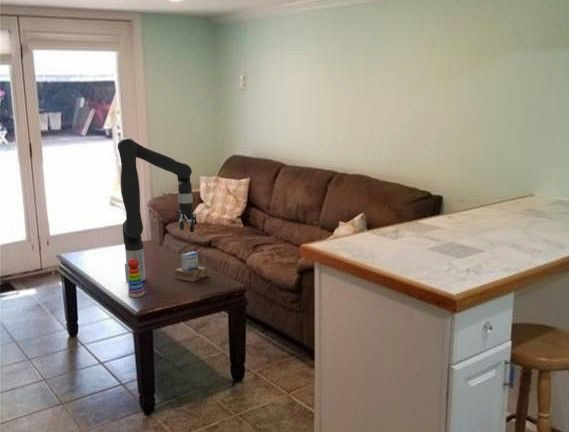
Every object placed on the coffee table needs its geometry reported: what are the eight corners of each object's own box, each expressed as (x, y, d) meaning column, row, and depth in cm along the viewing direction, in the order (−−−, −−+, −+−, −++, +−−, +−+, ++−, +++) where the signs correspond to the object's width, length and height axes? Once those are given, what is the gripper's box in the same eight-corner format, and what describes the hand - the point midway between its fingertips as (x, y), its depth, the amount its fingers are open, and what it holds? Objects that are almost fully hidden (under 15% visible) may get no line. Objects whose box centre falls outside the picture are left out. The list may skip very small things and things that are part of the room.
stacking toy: (142, 291, 304) (139, 255, 300) (146, 296, 297) (144, 259, 293) (126, 294, 300) (123, 257, 296) (130, 298, 293) (127, 261, 289)
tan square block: (192, 282, 317) (191, 273, 316) (175, 278, 324) (174, 270, 323) (206, 276, 327) (206, 267, 326) (190, 272, 334) (189, 264, 332)
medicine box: (187, 271, 320) (186, 255, 318) (181, 269, 323) (181, 253, 321) (198, 267, 326) (197, 252, 324) (192, 266, 329) (192, 250, 327)
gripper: (171, 200, 323) (173, 230, 327) (188, 204, 314) (189, 234, 317) (183, 198, 329) (184, 227, 332) (199, 202, 319) (200, 231, 322)
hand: (187, 230), depth 325 cm, fingers open, 8 cm apart
